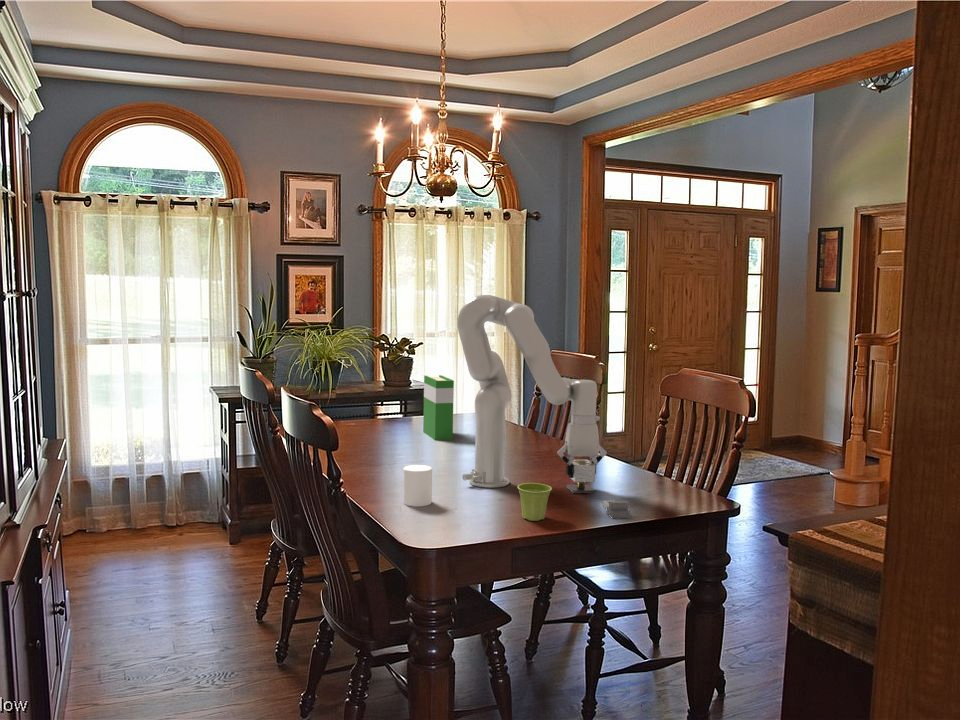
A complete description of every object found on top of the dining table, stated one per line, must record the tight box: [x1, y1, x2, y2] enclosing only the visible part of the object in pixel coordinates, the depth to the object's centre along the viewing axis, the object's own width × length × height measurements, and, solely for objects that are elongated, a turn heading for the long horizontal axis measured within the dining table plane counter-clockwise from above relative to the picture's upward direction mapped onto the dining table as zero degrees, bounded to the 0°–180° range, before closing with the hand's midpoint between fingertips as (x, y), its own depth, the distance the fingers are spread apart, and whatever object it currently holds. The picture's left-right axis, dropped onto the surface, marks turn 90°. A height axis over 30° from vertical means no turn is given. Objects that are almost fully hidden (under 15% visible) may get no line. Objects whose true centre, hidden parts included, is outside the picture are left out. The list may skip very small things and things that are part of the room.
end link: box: [570, 459, 596, 483], centre depth 254 cm, size 8×6×5 cm
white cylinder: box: [402, 464, 433, 508], centre depth 238 cm, size 8×10×12 cm
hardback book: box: [422, 374, 455, 441], centre depth 336 cm, size 18×7×24 cm, turn 19°
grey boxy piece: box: [606, 500, 631, 519], centre depth 228 cm, size 5×5×4 cm
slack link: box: [602, 500, 610, 510], centre depth 236 cm, size 6×4×2 cm, turn 9°
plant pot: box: [517, 482, 553, 522], centre depth 224 cm, size 9×9×9 cm
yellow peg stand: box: [566, 482, 596, 494], centre depth 254 cm, size 7×7×8 cm
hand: (581, 476), depth 254 cm, fingers closed on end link, 6 cm apart
